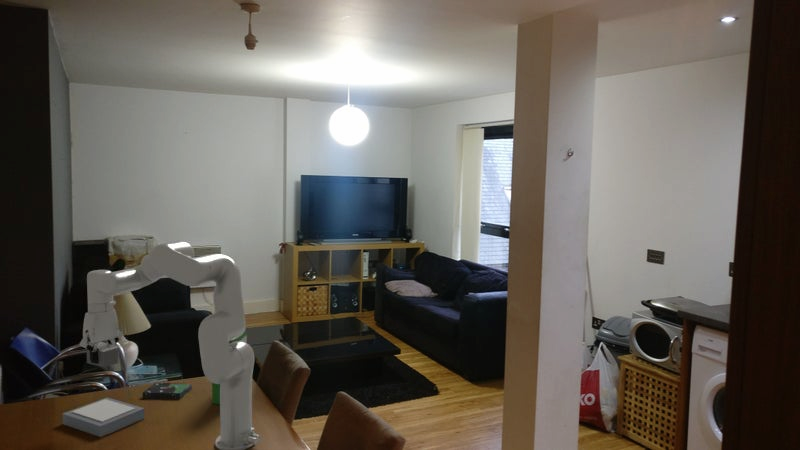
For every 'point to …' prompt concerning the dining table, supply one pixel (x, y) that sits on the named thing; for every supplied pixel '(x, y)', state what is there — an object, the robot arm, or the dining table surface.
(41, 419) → the dining table surface
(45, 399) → the dining table surface
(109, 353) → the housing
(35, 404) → the dining table surface
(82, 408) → the stand
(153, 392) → the disk drive
